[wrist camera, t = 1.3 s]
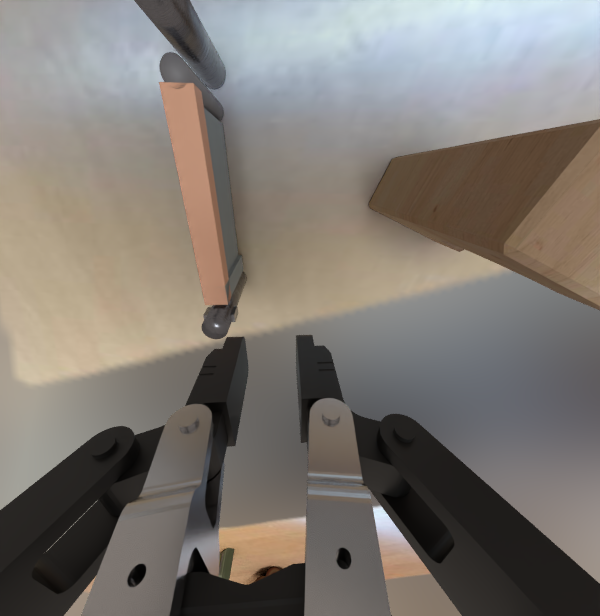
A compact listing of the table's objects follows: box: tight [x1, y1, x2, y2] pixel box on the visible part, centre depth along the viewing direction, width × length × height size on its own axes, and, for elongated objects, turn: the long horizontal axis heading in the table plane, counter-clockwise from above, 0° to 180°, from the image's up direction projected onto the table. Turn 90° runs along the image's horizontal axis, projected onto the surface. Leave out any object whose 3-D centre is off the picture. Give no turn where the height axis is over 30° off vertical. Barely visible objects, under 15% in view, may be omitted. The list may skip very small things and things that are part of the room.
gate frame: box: [134, 0, 247, 339], centre depth 21 cm, size 22×3×12 cm, turn 0°
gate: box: [159, 52, 243, 305], centre depth 22 cm, size 16×2×9 cm, turn 0°
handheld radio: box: [218, 548, 234, 580], centre depth 74 cm, size 7×3×25 cm
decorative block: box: [369, 119, 600, 310], centre depth 19 cm, size 11×6×20 cm, turn 65°
